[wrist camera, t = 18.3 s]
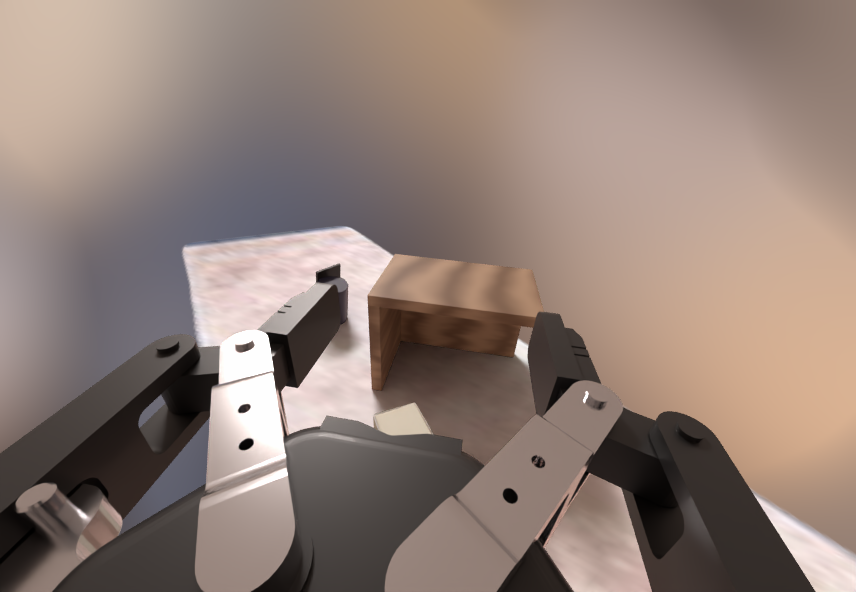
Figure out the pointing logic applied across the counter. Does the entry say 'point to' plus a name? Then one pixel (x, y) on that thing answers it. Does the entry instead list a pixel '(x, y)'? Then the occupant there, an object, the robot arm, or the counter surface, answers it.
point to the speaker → (333, 277)
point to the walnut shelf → (448, 308)
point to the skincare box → (402, 421)
